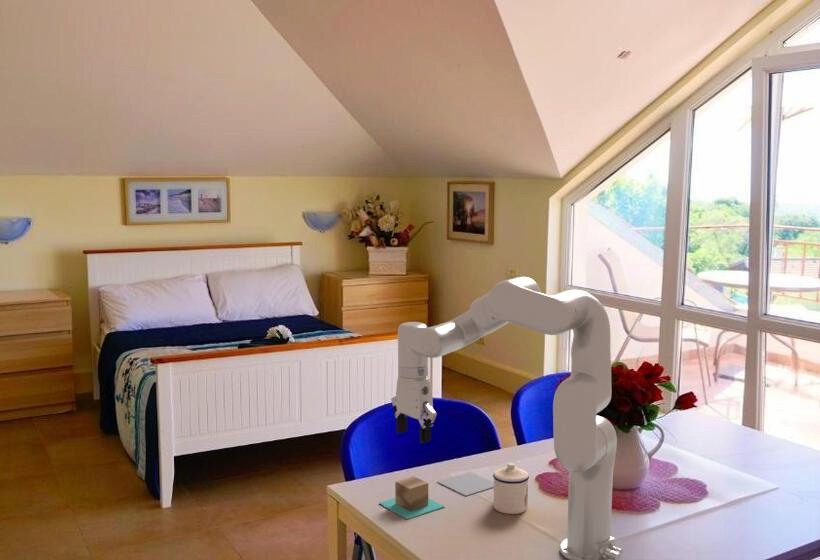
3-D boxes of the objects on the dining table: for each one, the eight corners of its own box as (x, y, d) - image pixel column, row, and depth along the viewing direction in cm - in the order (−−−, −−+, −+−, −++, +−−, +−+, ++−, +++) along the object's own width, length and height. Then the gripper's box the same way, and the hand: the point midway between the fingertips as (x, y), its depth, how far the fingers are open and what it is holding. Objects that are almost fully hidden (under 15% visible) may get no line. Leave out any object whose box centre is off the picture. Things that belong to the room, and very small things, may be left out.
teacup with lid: (533, 513, 210) (534, 469, 208) (498, 516, 208) (499, 471, 207) (518, 494, 222) (518, 452, 220) (485, 497, 220) (485, 455, 218)
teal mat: (444, 507, 214) (444, 506, 214) (407, 519, 206) (407, 518, 206) (415, 492, 223) (415, 491, 223) (379, 503, 216) (379, 502, 216)
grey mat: (499, 485, 228) (499, 484, 228) (465, 496, 221) (465, 495, 221) (470, 472, 237) (470, 471, 237) (437, 482, 230) (437, 481, 230)
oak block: (428, 505, 214) (428, 483, 213) (410, 511, 210) (409, 488, 210) (413, 498, 219) (413, 476, 218) (395, 503, 215) (395, 481, 214)
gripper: (446, 376, 205) (446, 443, 208) (404, 362, 219) (404, 425, 221) (422, 381, 201) (422, 449, 203) (381, 367, 214) (381, 431, 217)
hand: (413, 437), depth 212 cm, fingers open, 9 cm apart
